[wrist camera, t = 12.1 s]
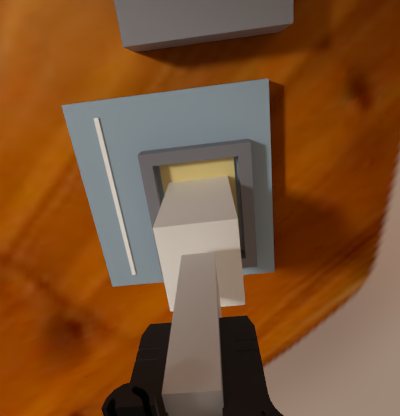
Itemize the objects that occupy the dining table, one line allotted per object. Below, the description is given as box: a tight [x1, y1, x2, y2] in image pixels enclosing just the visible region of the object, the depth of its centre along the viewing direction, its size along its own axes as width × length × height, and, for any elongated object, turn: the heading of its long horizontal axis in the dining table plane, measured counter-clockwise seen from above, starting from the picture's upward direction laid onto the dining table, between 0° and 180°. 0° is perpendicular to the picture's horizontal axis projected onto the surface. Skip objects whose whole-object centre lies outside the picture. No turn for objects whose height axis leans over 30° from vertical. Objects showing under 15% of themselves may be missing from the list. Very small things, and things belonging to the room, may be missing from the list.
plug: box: [153, 176, 245, 311], centre depth 18 cm, size 6×4×7 cm
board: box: [61, 78, 275, 287], centre depth 21 cm, size 14×13×2 cm
